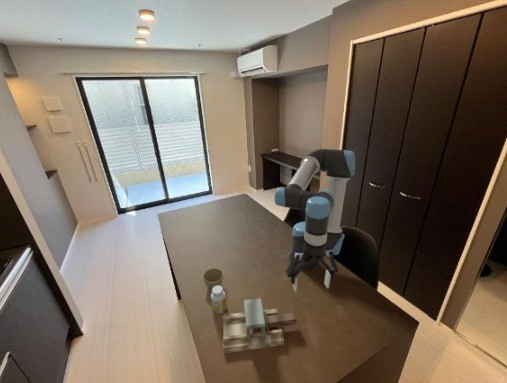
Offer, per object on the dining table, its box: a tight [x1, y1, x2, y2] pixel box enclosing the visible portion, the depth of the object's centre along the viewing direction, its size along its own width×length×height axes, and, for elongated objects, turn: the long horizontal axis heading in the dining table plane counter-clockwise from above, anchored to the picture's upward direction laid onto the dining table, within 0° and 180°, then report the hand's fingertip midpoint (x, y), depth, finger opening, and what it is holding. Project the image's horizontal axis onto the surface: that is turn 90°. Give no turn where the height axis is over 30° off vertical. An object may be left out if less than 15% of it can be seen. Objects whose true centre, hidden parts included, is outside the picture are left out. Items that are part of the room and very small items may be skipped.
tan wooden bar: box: [252, 311, 298, 332], centre depth 92 cm, size 18×5×5 cm, turn 97°
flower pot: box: [202, 268, 224, 290], centre depth 115 cm, size 10×10×7 cm
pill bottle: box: [210, 285, 228, 315], centre depth 101 cm, size 6×6×12 cm
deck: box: [222, 297, 285, 354], centre depth 91 cm, size 23×14×12 cm, turn 97°
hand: (310, 287), depth 87 cm, fingers open, 12 cm apart
